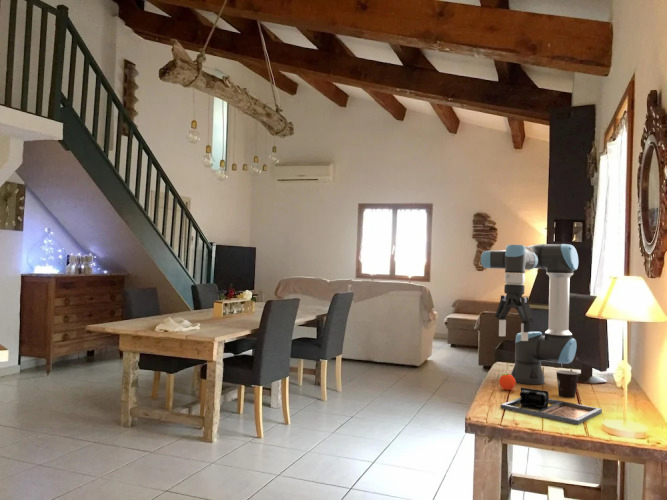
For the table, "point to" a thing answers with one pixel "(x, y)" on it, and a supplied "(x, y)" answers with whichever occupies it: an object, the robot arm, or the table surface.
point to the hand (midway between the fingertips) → (512, 338)
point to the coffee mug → (567, 383)
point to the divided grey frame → (558, 411)
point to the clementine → (507, 381)
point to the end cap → (534, 399)
